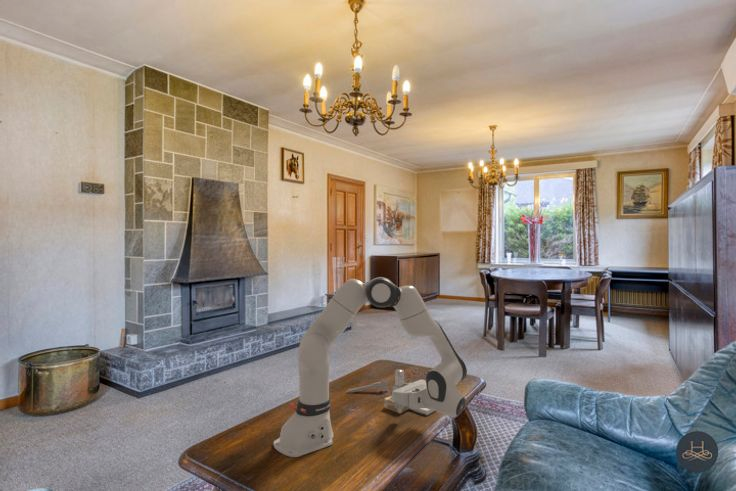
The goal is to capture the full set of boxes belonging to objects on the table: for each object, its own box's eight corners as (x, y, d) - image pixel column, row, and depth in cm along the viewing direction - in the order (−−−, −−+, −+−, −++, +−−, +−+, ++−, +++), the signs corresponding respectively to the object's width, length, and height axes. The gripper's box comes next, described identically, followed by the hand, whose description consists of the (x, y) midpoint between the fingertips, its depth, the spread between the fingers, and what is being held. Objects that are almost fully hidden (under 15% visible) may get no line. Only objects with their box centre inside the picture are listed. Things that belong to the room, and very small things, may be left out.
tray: (426, 415, 165) (426, 410, 165) (409, 409, 171) (409, 404, 171) (438, 409, 172) (438, 404, 172) (421, 403, 178) (421, 398, 178)
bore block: (400, 413, 167) (400, 404, 167) (384, 407, 173) (384, 398, 173) (412, 407, 174) (412, 398, 174) (397, 401, 180) (397, 392, 180)
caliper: (387, 391, 193) (387, 378, 193) (387, 391, 192) (387, 379, 192) (345, 392, 192) (345, 379, 192) (345, 393, 191) (345, 380, 191)
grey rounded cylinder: (399, 409, 159) (400, 372, 159) (392, 407, 161) (393, 370, 161) (405, 407, 162) (405, 370, 162) (398, 404, 164) (398, 368, 164)
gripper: (440, 380, 160) (412, 372, 170) (410, 394, 145) (381, 384, 155) (439, 395, 160) (412, 387, 170) (409, 411, 145) (381, 400, 155)
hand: (397, 386), depth 162 cm, fingers closed on grey rounded cylinder, 4 cm apart
